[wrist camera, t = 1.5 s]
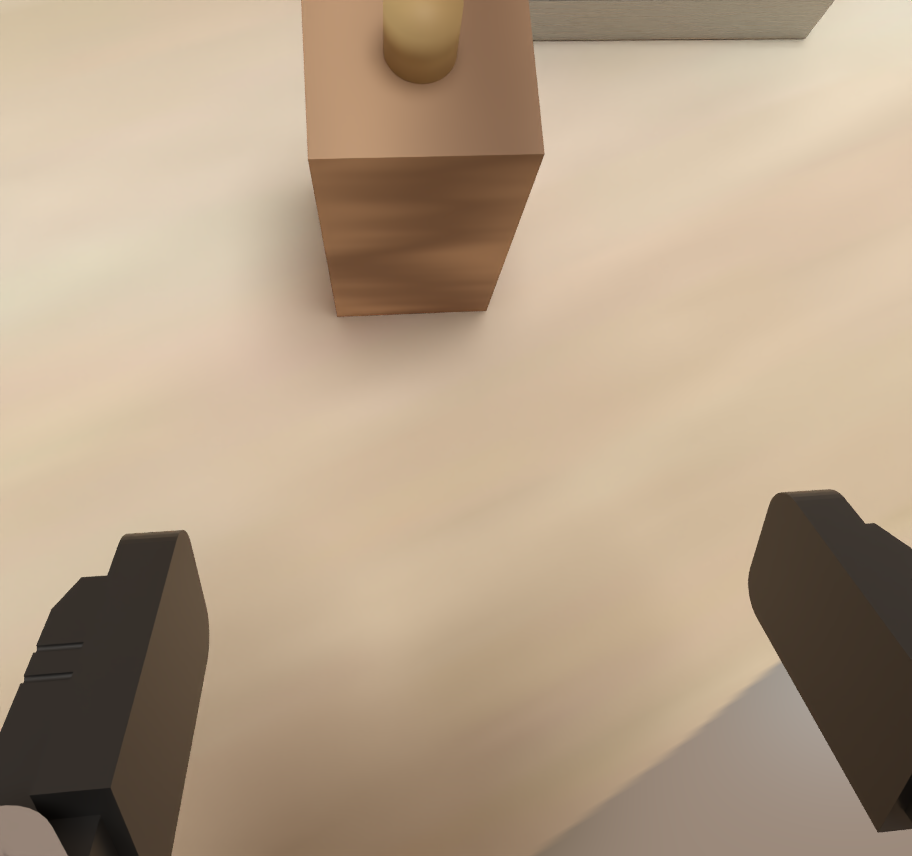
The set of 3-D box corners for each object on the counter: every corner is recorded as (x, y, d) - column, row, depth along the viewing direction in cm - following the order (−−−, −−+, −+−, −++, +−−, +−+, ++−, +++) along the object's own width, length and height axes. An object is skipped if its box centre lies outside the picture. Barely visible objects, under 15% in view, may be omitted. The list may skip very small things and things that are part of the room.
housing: (337, 316, 26) (300, 117, 15) (331, 178, 27) (291, -109, 16) (486, 310, 27) (559, 113, 15) (474, 174, 28) (536, -106, 16)
